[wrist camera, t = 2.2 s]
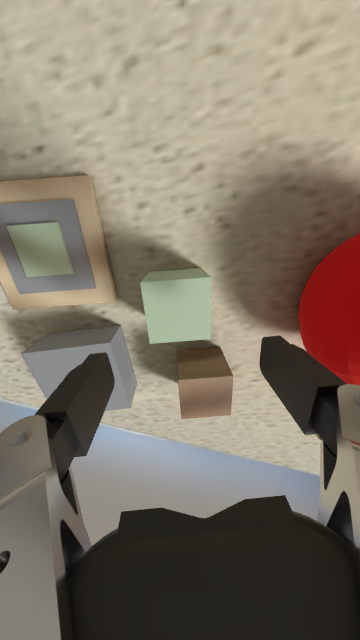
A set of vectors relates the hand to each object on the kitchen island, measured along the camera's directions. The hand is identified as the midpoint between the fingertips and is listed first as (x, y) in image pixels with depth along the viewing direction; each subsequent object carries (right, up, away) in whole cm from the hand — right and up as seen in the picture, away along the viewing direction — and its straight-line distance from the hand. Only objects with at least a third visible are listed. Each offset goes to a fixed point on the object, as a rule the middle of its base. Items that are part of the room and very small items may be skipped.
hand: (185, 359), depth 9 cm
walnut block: (+2, -4, +12) cm, 13 cm away
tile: (-12, +8, +7) cm, 16 cm away
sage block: (-1, +5, +9) cm, 10 cm away
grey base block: (-10, -3, +12) cm, 16 cm away
